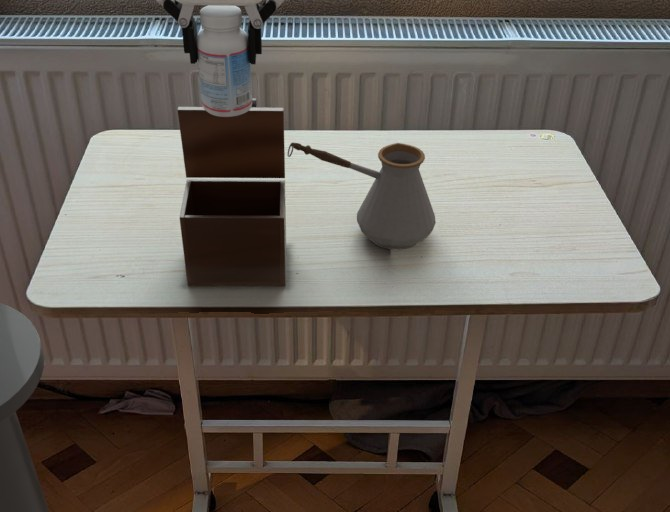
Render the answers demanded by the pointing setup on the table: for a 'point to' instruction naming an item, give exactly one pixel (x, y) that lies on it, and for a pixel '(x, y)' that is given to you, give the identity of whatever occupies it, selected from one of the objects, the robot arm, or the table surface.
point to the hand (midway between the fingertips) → (223, 58)
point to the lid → (233, 143)
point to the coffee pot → (390, 196)
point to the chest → (234, 232)
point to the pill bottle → (224, 62)
